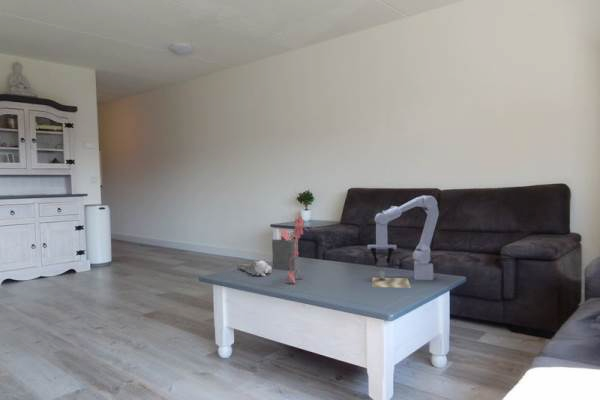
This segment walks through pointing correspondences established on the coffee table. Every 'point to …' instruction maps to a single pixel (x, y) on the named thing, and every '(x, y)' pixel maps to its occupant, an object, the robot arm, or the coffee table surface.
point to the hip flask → (283, 254)
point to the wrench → (249, 267)
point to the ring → (382, 260)
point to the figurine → (297, 232)
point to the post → (382, 275)
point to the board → (391, 282)
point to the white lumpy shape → (263, 268)
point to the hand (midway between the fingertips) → (382, 262)
